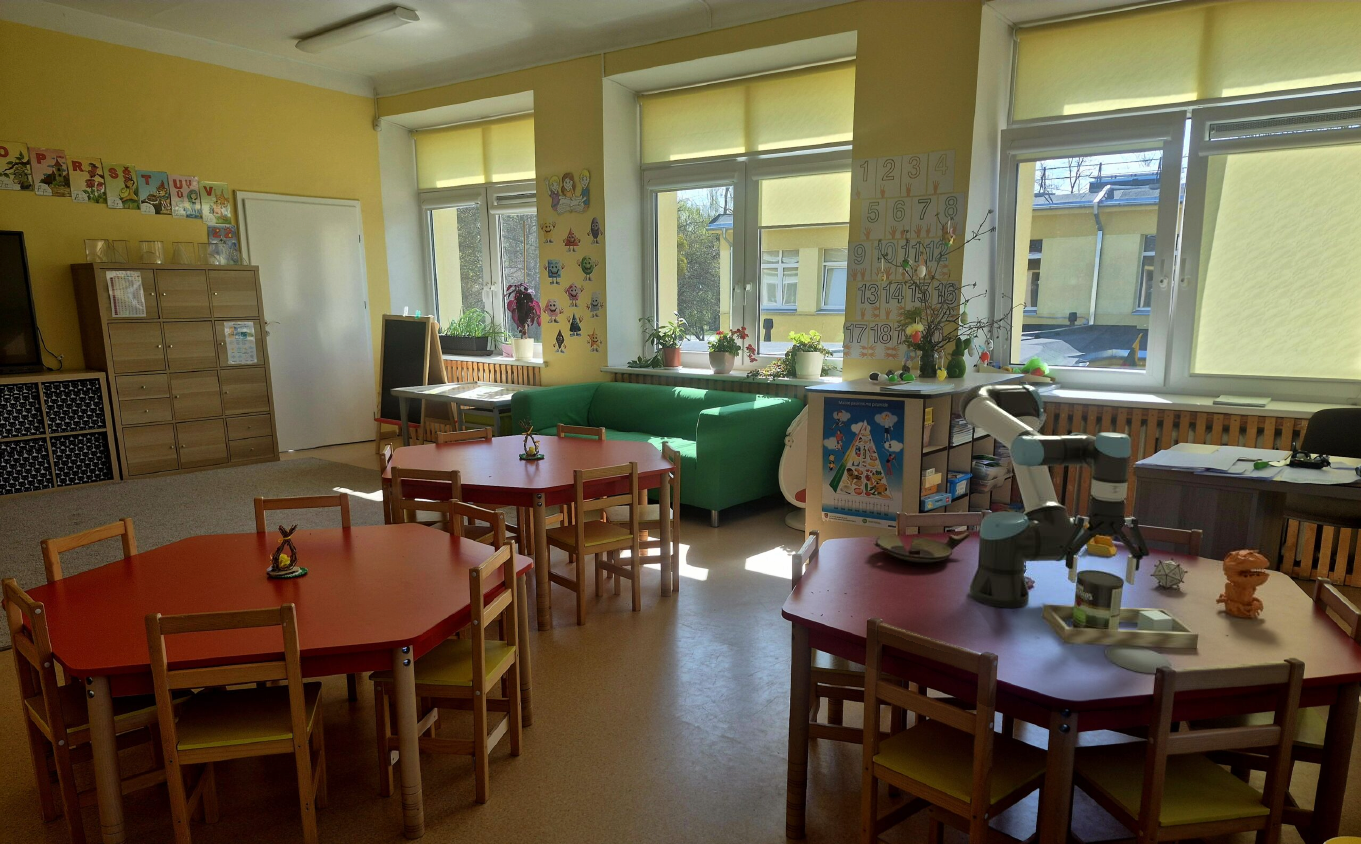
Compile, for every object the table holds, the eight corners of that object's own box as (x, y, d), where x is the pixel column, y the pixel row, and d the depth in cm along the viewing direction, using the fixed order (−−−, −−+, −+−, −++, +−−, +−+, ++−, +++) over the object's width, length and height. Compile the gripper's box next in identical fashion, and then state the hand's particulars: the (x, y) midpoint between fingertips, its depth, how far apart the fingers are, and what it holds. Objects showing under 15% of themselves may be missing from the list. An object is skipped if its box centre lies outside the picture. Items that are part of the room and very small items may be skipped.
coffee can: (1087, 641, 187) (1092, 585, 184) (1063, 623, 197) (1067, 570, 194) (1127, 639, 188) (1133, 584, 185) (1101, 622, 198) (1106, 569, 195)
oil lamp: (870, 545, 257) (871, 523, 256) (965, 551, 252) (966, 528, 251) (875, 568, 236) (876, 544, 234) (979, 575, 231) (981, 550, 229)
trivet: (1121, 672, 171) (1121, 670, 171) (1095, 645, 184) (1095, 643, 184) (1182, 674, 170) (1183, 672, 170) (1152, 648, 183) (1152, 646, 183)
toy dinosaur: (1251, 625, 196) (1260, 557, 193) (1205, 609, 206) (1213, 544, 203) (1274, 617, 201) (1284, 550, 198) (1229, 602, 211) (1237, 538, 208)
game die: (1174, 601, 221) (1197, 582, 214) (1144, 588, 222) (1166, 569, 215) (1171, 577, 227) (1193, 558, 220) (1142, 565, 228) (1163, 546, 221)
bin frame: (1065, 642, 186) (1066, 629, 185) (1041, 617, 200) (1042, 604, 200) (1196, 648, 183) (1198, 634, 183) (1163, 621, 198) (1164, 608, 197)
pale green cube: (1152, 639, 188) (1154, 619, 187) (1137, 630, 193) (1139, 611, 192) (1170, 637, 189) (1172, 618, 188) (1154, 629, 194) (1157, 610, 193)
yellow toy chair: (1114, 557, 247) (1117, 529, 245) (1081, 552, 252) (1083, 525, 250) (1117, 548, 255) (1119, 521, 254) (1084, 543, 260) (1087, 517, 259)
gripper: (1060, 500, 184) (1053, 585, 187) (1170, 502, 182) (1162, 589, 185) (1048, 492, 191) (1042, 574, 194) (1154, 494, 189) (1146, 578, 192)
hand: (1100, 582), depth 190 cm, fingers open, 13 cm apart
